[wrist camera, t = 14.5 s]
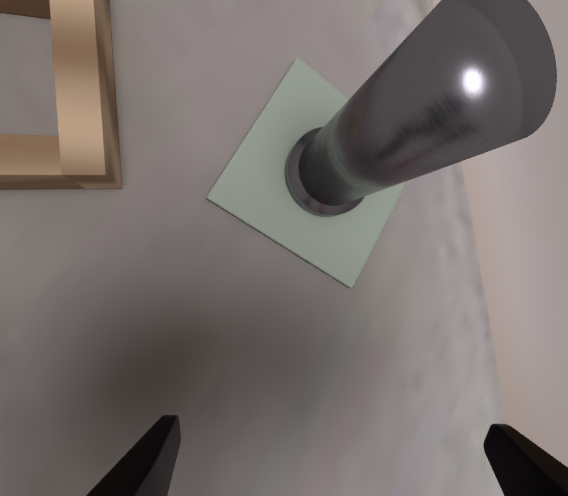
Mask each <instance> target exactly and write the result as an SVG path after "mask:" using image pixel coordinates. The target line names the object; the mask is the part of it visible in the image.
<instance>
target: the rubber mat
mask: <svg viewBox="0 0 568 496" xmlns="http://www.w3.org/2000/svg"><path fill="white" fill-rule="evenodd" d="M348 100H349V99H348V98H347V97H346V96H345V95H343V94H342V93H341V92H340V91H338V90H337V89H336V88H335V87H334V86H332V85H331V84H330V83H329V82H327V81H326V80H325V79H324V78H323V77H321V76H320V75H319V74H318V73H316V72H315V71H314V70H313V69H312V68H310V67H309V66H308V65H307V64H305V63H304V62H303V61H302V60H301V59H299V58H298V57H297V58H296V60H295V62H294V63H293V65H292V66H291V68H290V69H289V71H288V72H287V74H286V75H285V77H284V79H283V80H282V82H281V83H280V85H279V86H278V88H277V89H276V91H275V92H274V94H273V96H272V97H271V99H270V100H269V102H268V103H267V105H266V106H265V108H264V109H263V111H262V113H261V114H260V116H259V117H258V119H257V120H256V122H255V123H254V125H253V126H252V128H251V130H250V131H249V133H248V134H247V136H246V137H245V139H244V140H243V142H242V143H241V145H240V147H239V148H238V150H237V151H236V153H235V154H234V156H233V157H232V159H231V160H230V162H229V164H228V165H227V167H226V168H225V170H224V171H223V173H222V174H221V176H220V177H219V179H218V181H217V182H216V184H215V185H214V187H213V188H212V190H211V191H210V193H209V194H208V196H207V198H206V199H207V200H209V201H211V202H212V203H214V204H215V205H217V206H219V207H220V208H222V209H223V210H225V211H227V212H228V213H230V214H231V215H233V216H235V217H236V218H238V219H239V220H241V221H243V222H244V223H246V224H247V225H249V226H251V227H252V228H254V229H255V230H257V231H259V232H260V233H262V234H263V235H265V236H267V237H268V238H270V239H271V240H273V241H275V242H276V243H278V244H279V245H281V246H283V247H284V248H286V249H287V250H289V251H291V252H292V253H294V254H295V255H297V256H299V257H300V258H302V259H303V260H305V261H307V262H308V263H310V264H311V265H313V266H315V267H316V268H318V269H319V270H321V271H323V272H324V273H326V274H327V275H329V276H331V277H332V278H334V279H335V280H337V281H339V282H340V283H342V284H343V285H345V286H347V287H348V288H352V287H353V285H354V283H355V281H356V280H357V278H358V276H359V274H360V272H361V270H362V268H363V266H364V264H365V262H366V260H367V258H368V256H369V254H370V252H371V250H372V248H373V247H374V245H375V243H376V241H377V239H378V237H379V235H380V233H381V231H382V229H383V227H384V225H385V223H386V221H387V219H388V217H389V216H390V214H391V212H392V210H393V208H394V206H395V204H396V202H397V200H398V198H399V196H400V194H401V192H402V190H403V188H404V186H405V184H406V183H407V181H406V182H403V183H400V184H397V185H395V186H392V187H389V188H386V189H384V190H381V191H378V192H375V193H373V194H370V195H367V196H365V197H364V199H363V200H362V202H361V203H360V204H359V205H358V206H356V207H355V208H354V209H352V210H351V211H349V212H346V213H343V214H340V215H337V216H332V217H320V216H316V215H313V214H311V213H308V212H307V211H305V210H304V209H302V208H301V207H300V206H299V205H298V204H297V203H296V202H295V201H294V199H293V198H292V196H291V195H290V193H289V191H288V188H287V185H286V181H285V163H286V160H287V157H288V154H289V152H290V151H291V149H292V148H293V147H294V145H295V144H296V143H297V142H298V140H299V139H300V138H301V137H302V136H303V135H304V134H306V133H307V132H309V131H311V130H313V129H315V128H319V127H324V126H325V125H326V124H327V123H328V122H329V120H330V119H331V118H332V117H333V116H334V115H335V114H336V113H337V112H338V111H339V110H340V109H341V108H342V107H343V105H344V104H345V103H346V102H347V101H348Z"/></svg>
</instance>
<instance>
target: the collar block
mask: <svg viewBox="0 0 568 496" xmlns="http://www.w3.org/2000/svg"><path fill="white" fill-rule="evenodd" d="M0 12H2V13H10V14H18V15H25V16H33V17H41V18H48V19H51V30H52V44H53V59H54V74H55V88H56V103H57V117H58V132H59V136H41V135H12V134H0V190H5V189H116V188H122V179H121V165H120V151H119V136H118V122H117V108H116V93H115V79H114V64H113V50H112V36H111V21H110V7H109V0H0Z"/></svg>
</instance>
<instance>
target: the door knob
mask: <svg viewBox="0 0 568 496" xmlns="http://www.w3.org/2000/svg"><path fill="white" fill-rule="evenodd" d="M556 72H557V70H556V60H555V55H554V50H553V47H552V43H551V40H550V37H549V35H548V32H547V30H546V28H545V26H544V24H543V22H542V20H541V18H540V17H539V15H538V13H537V12H536V11H535V9H534V8H533V7H532V5H531V4H530V3H529V2H528V1H527V0H441V1H440V2H439V4H438V5H437V6H436V7H435V8H434V9H433V10H432V11H431V12H430V13H429V14H428V15H427V16H426V17H425V18H424V20H423V21H422V22H421V23H420V24H419V25H418V26H417V27H416V28H415V29H414V30H413V31H412V32H411V34H410V35H409V36H408V37H407V38H406V39H405V40H404V41H403V42H402V43H401V44H400V45H399V46H398V47H397V49H396V50H395V51H394V52H393V53H392V54H391V55H390V56H389V57H388V58H387V59H386V60H385V61H384V63H383V64H382V65H381V66H380V67H379V68H378V69H377V70H376V71H375V72H374V73H373V74H372V75H371V76H370V78H369V79H368V80H367V81H366V82H365V83H364V84H363V85H362V86H361V87H360V88H359V89H358V90H357V91H356V93H355V94H354V95H353V96H352V97H351V98H350V99H349V100H348V101H347V102H346V103H345V104H344V105H343V107H342V108H341V109H340V110H339V111H338V112H337V113H336V114H335V115H334V116H333V117H332V118H331V119H330V120H329V122H328V123H327V124H326V125H325V126H324V127H319V128H315V129H313V130H311V131H309V132H307V133H306V134H304V135H303V136H302V137H301V138H300V139H299V140H298V142H297V143H296V144H295V145H294V147H293V148H292V149H291V151H290V152H289V154H288V157H287V160H286V163H285V181H286V185H287V188H288V191H289V193H290V195H291V196H292V198H293V199H294V201H295V202H296V203H297V204H298V205H299V206H300V207H301V208H302V209H304V210H305V211H307V212H308V213H311V214H313V215H316V216H320V217H332V216H337V215H340V214H343V213H346V212H349V211H351V210H352V209H354V208H355V207H356V206H358V205H359V204H360V203H361V202H362V200H363V199H364V197H365V196H367V195H370V194H373V193H375V192H378V191H381V190H384V189H386V188H389V187H392V186H395V185H397V184H400V183H403V182H406V181H408V180H411V179H414V178H417V177H419V176H422V175H425V174H428V173H430V172H433V171H436V170H438V169H441V168H444V167H447V166H449V165H452V164H455V163H458V162H460V161H463V160H466V159H468V158H471V157H474V156H477V155H480V154H482V153H485V152H488V151H491V150H493V149H496V148H499V147H501V146H504V145H507V144H510V143H512V142H515V141H518V140H520V139H523V138H526V137H528V136H529V135H531V134H533V133H534V132H535V131H536V130H537V129H538V128H539V127H540V126H541V125H542V124H543V123H544V121H545V119H546V118H547V116H548V114H549V112H550V110H551V107H552V105H553V101H554V97H555V92H556V83H557V73H556Z"/></svg>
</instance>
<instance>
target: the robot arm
mask: <svg viewBox="0 0 568 496" xmlns="http://www.w3.org/2000/svg"><path fill="white" fill-rule="evenodd" d="M180 441H181V433H180V424H179V417H178V416H177V415H164V416H162V417H161V418H160V419H159V420H158V421H157V422H156V423H155V424H154V425H153V426H152V427H151V428H150V429H149V430H148V431H147V432H146V433H145V434H144V436H143V437H142V438H141V439H140V440H139V441H138V442H137V443H136V444H135V445H134V446H133V447H132V448H131V449H130V450H129V451H128V452H127V453H126V454H125V455H124V457H123V458H122V459H121V460H120V461H119V462H118V463H117V464H116V465H115V466H114V467H113V468H112V469H111V470H110V471H109V472H108V473H107V474H106V475H105V476H104V478H103V479H102V480H101V481H100V482H99V483H98V484H97V485H96V486H95V487H94V488H93V489H92V490H91V491H90V492H89V493H88V494H87V495H86V496H167V494H168V490H169V486H170V482H171V478H172V474H173V470H174V466H175V462H176V458H177V454H178V450H179V446H180ZM484 451H485V454H486V456H487V458H488V460H489V462H490V465H491V467H492V469H493V471H494V474H495V476H496V478H497V480H498V482H499V485H500V487H501V489H502V491H503V494H504V496H568V467H566V466H565V465H563V464H562V463H561V462H559V461H558V460H557V459H555V458H554V457H553V456H551V455H550V454H548V453H547V452H546V451H544V450H543V449H542V448H540V447H539V446H537V445H536V444H534V443H533V442H532V441H530V440H529V439H528V438H526V437H525V436H524V435H522V434H520V433H519V432H518V431H517V430H515V429H514V428H512V427H511V426H509V425H507V424H492V425H491V426H490V428H489V431H488V433H487V436H486V438H485V441H484Z"/></svg>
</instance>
